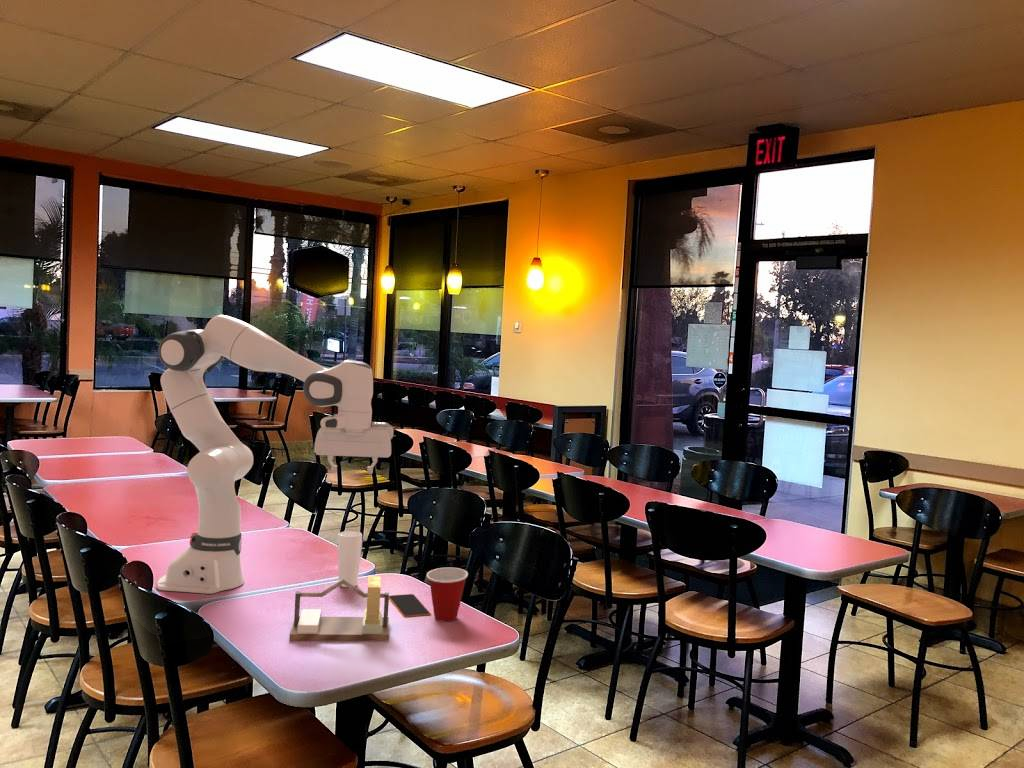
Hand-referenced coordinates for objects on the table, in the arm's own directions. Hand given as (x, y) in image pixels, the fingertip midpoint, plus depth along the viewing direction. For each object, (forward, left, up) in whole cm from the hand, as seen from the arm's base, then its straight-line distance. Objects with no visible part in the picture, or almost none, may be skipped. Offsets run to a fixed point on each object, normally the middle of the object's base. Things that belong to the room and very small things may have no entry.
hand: (352, 472), depth 218 cm
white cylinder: (0, +14, -35) cm, 38 cm away
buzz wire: (0, -22, -35) cm, 41 cm away
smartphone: (+17, -3, -36) cm, 40 cm away
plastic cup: (+26, -12, -35) cm, 45 cm away
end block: (+8, -22, -34) cm, 41 cm away
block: (-8, -22, -34) cm, 41 cm away
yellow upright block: (+7, -22, -32) cm, 39 cm away
